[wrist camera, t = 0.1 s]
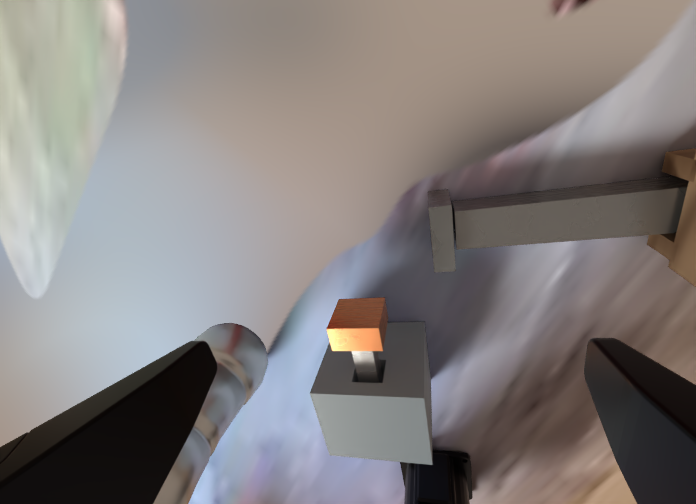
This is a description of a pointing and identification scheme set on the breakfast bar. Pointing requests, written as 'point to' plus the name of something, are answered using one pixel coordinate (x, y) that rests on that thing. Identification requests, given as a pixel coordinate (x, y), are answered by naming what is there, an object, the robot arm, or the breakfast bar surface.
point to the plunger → (360, 334)
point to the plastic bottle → (217, 404)
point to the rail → (554, 216)
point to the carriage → (681, 218)
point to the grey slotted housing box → (379, 401)
